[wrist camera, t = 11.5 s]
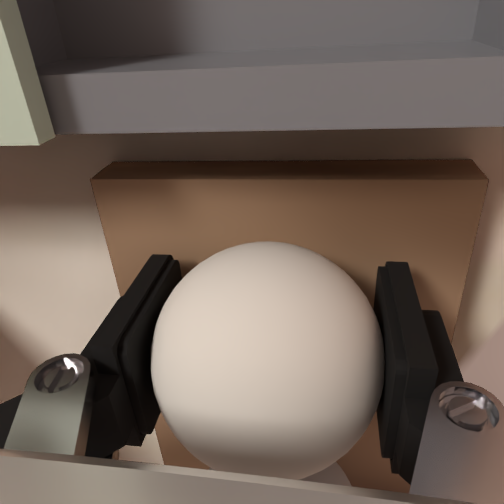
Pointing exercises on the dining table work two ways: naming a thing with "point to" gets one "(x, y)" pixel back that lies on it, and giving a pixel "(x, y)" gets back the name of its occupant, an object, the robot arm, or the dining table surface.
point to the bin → (267, 64)
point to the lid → (20, 85)
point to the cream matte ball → (267, 361)
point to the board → (301, 236)
